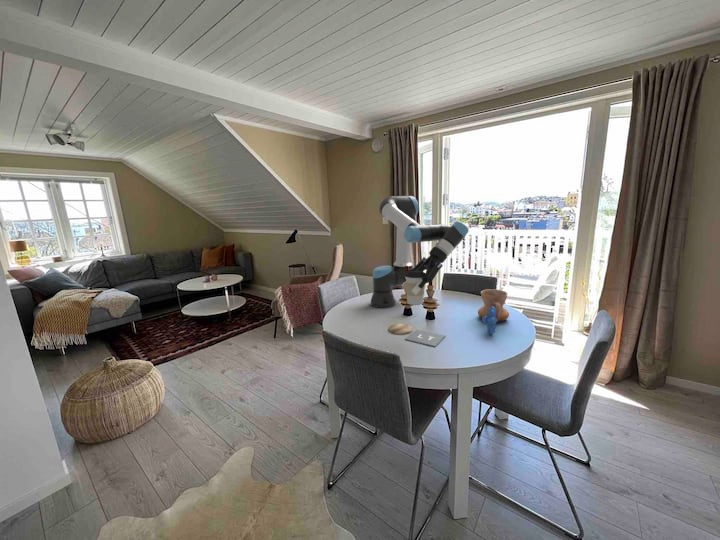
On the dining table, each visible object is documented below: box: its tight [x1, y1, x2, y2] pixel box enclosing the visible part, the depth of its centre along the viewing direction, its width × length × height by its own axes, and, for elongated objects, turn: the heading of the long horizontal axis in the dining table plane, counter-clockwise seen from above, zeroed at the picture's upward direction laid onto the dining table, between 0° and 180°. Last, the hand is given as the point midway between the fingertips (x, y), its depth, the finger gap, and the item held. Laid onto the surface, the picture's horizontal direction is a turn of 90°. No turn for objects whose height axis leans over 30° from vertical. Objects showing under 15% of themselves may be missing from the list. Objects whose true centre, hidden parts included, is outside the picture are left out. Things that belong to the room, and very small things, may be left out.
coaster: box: [388, 323, 413, 335], centre depth 141 cm, size 11×11×1 cm
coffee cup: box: [405, 269, 426, 306], centre depth 130 cm, size 9×9×15 cm
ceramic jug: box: [477, 288, 510, 322], centre depth 148 cm, size 18×14×14 cm
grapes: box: [481, 306, 499, 335], centre depth 133 cm, size 12×7×12 cm, turn 157°
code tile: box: [404, 329, 446, 348], centre depth 130 cm, size 14×12×1 cm
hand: (408, 290), depth 129 cm, fingers closed on coffee cup, 9 cm apart
